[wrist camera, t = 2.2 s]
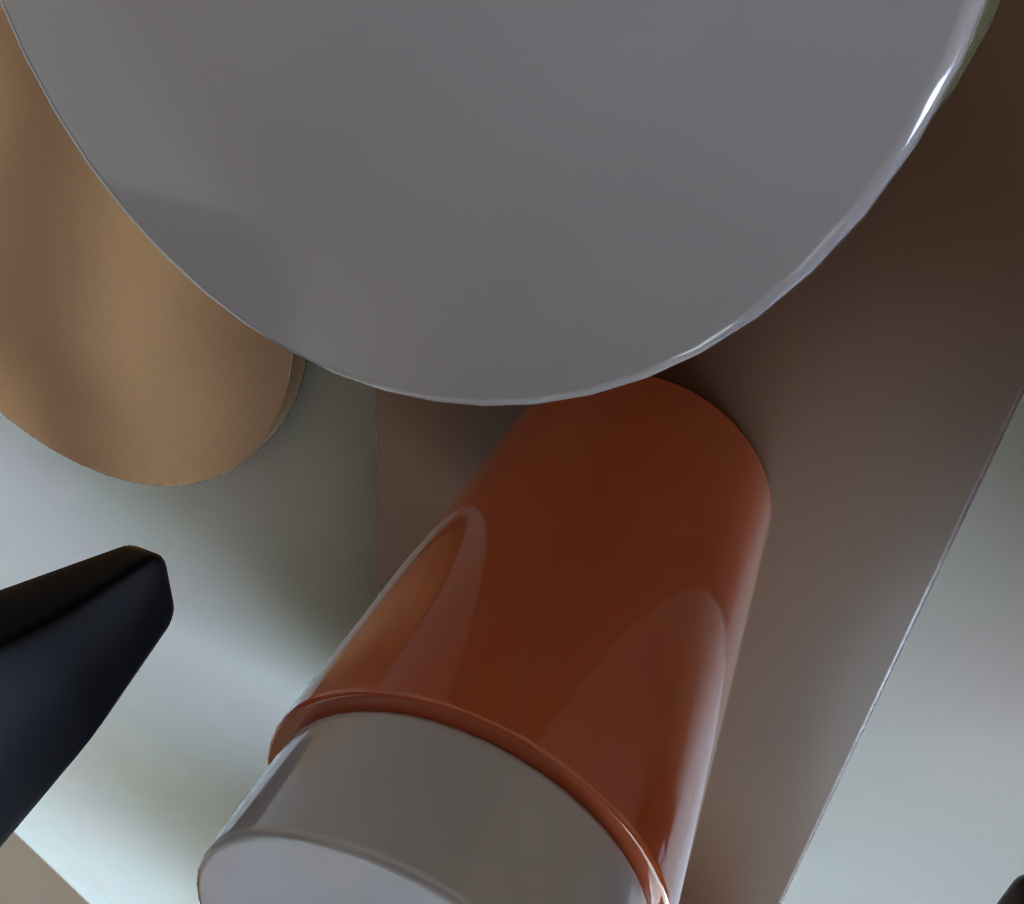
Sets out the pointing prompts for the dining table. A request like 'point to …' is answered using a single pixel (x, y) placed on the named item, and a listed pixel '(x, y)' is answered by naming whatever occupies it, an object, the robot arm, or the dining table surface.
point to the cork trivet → (114, 320)
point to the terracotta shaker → (526, 678)
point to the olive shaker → (497, 166)
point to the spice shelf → (824, 462)
